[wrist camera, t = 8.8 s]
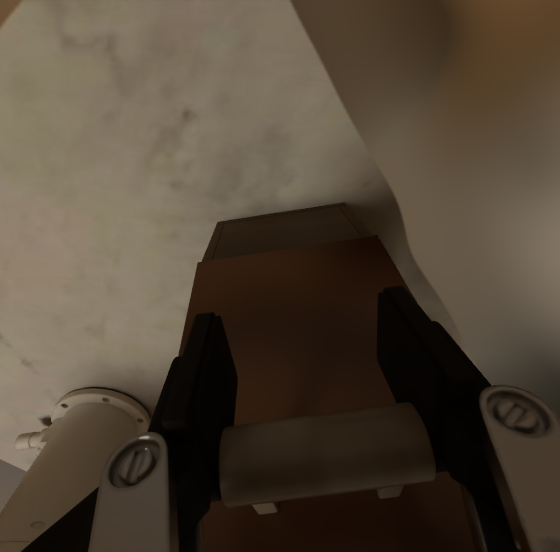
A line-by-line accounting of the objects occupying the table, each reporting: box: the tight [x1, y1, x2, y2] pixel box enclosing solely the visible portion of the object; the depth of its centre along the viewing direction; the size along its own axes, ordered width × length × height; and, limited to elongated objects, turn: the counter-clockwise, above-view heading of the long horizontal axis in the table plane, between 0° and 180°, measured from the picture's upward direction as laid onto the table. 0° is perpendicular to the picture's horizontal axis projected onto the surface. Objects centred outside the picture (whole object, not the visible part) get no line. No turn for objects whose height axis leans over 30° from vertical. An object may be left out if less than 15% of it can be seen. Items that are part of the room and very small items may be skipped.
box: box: [202, 203, 373, 262], centre depth 30 cm, size 16×13×9 cm
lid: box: [178, 235, 475, 552], centre depth 14 cm, size 16×13×5 cm
